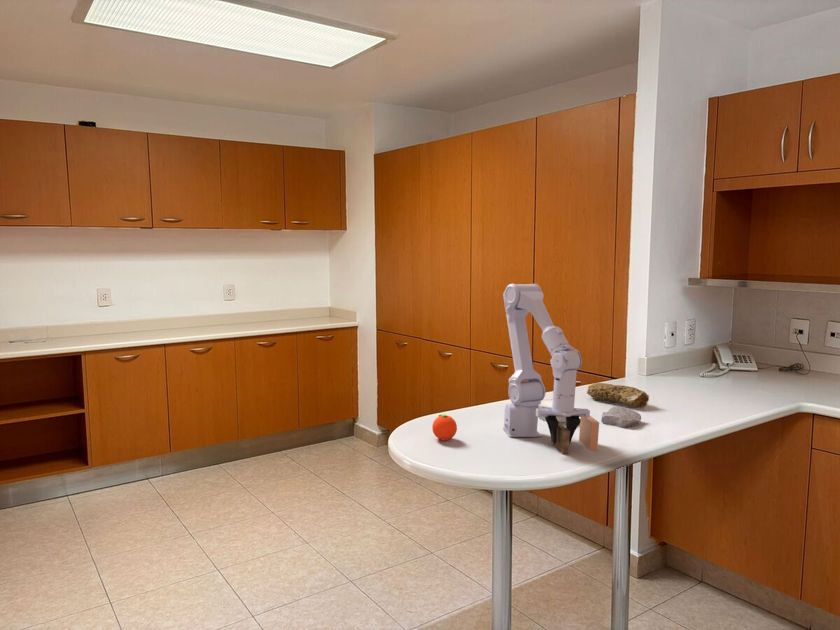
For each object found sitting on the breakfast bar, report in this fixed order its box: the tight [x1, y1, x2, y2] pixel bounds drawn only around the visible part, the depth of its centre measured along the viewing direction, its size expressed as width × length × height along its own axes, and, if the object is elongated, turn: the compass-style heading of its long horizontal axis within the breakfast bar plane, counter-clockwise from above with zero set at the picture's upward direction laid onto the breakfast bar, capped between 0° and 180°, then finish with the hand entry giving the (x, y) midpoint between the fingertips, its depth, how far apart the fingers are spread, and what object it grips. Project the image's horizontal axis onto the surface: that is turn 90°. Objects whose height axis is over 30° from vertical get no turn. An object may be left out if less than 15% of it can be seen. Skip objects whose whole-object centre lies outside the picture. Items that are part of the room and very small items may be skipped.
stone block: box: [601, 405, 642, 429], centre depth 194 cm, size 12×5×10 cm
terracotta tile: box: [578, 415, 600, 451], centre depth 170 cm, size 2×8×8 cm, turn 7°
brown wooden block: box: [552, 422, 570, 455], centre depth 166 cm, size 2×8×6 cm, turn 7°
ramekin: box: [538, 398, 566, 424], centre depth 196 cm, size 11×11×5 cm
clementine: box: [431, 414, 458, 441], centre depth 171 cm, size 8×7×7 cm
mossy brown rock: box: [586, 382, 650, 409], centre depth 219 cm, size 13×8×20 cm
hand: (560, 442), depth 166 cm, fingers open, 3 cm apart
